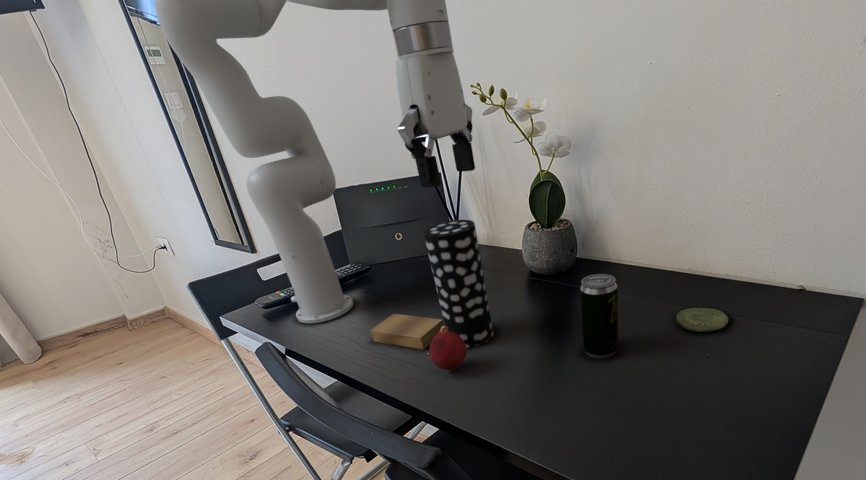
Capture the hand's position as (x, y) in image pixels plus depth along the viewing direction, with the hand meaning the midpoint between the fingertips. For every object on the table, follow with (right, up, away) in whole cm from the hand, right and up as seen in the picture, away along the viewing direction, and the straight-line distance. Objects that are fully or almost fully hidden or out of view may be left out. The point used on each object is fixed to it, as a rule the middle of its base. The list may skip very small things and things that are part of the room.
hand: (449, 178), depth 71 cm
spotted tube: (+2, -23, +14) cm, 28 cm away
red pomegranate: (0, -29, +5) cm, 30 cm away
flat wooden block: (-9, -23, +18) cm, 31 cm away
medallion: (+41, -21, +7) cm, 47 cm away
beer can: (+24, -26, +4) cm, 36 cm away
